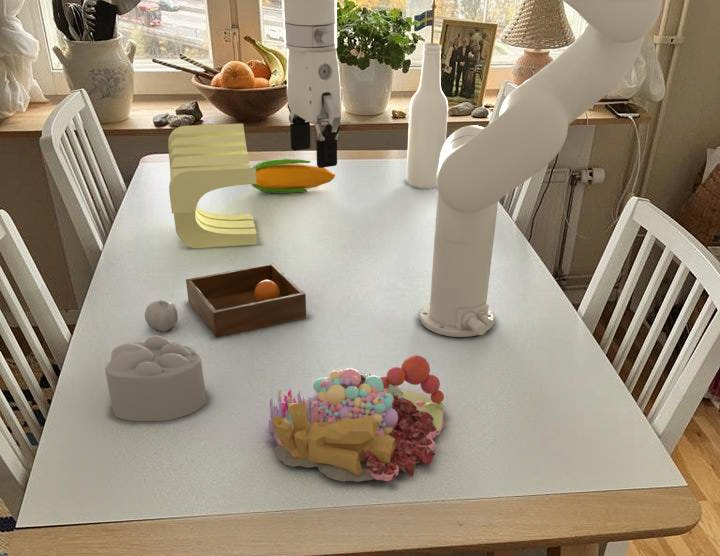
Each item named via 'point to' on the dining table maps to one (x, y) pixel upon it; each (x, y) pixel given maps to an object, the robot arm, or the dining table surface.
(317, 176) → the corn
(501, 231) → the dining table surface
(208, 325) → the wooden tray
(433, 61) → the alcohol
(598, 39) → the robot arm
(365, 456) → the colourful coral reef
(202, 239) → the slatted curved stool
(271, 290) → the mandarin
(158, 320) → the garlic
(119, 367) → the lumpy-topped squat cylinder
